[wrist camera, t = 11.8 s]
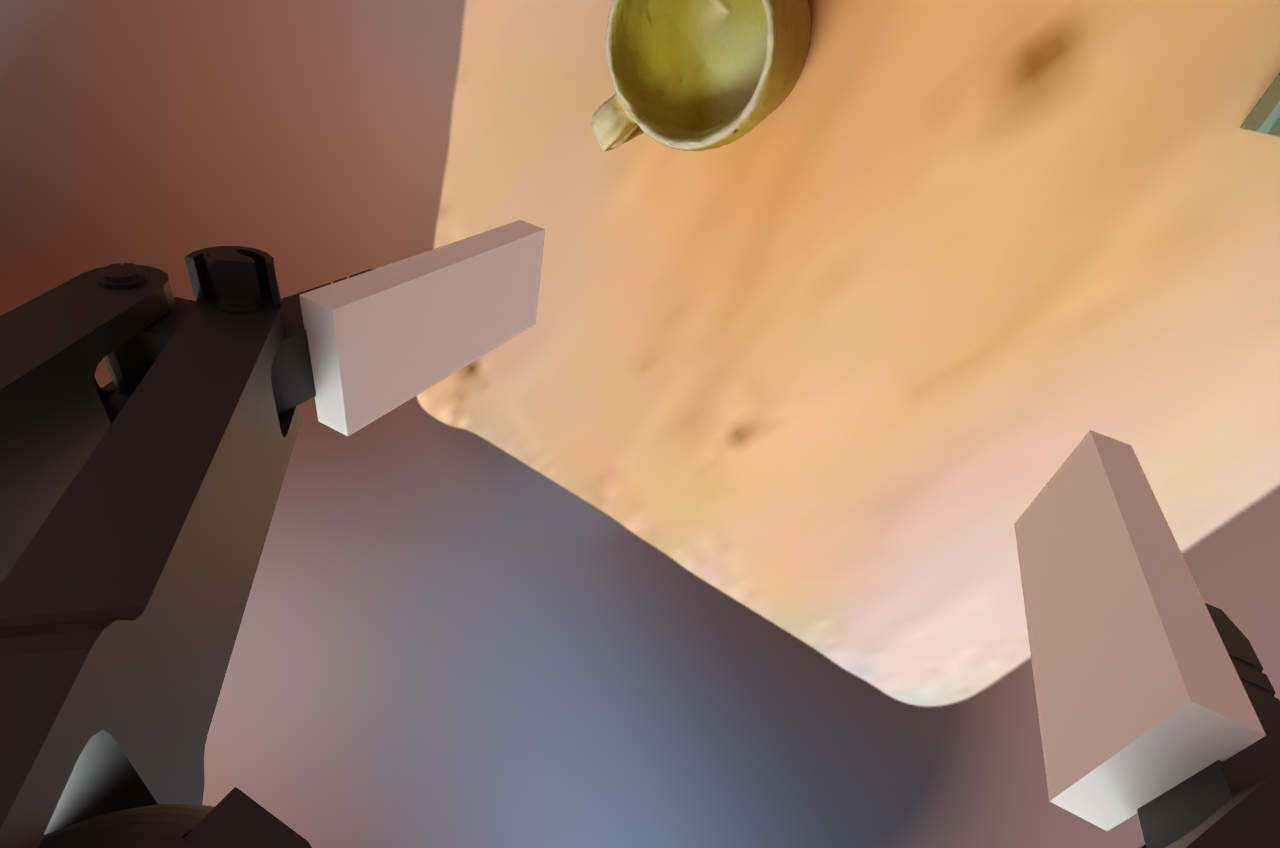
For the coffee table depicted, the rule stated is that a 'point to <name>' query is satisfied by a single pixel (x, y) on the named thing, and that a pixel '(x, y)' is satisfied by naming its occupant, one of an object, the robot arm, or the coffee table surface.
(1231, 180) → the coffee table surface
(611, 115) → the mug
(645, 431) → the coffee table surface
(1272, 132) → the teal slotted holder
